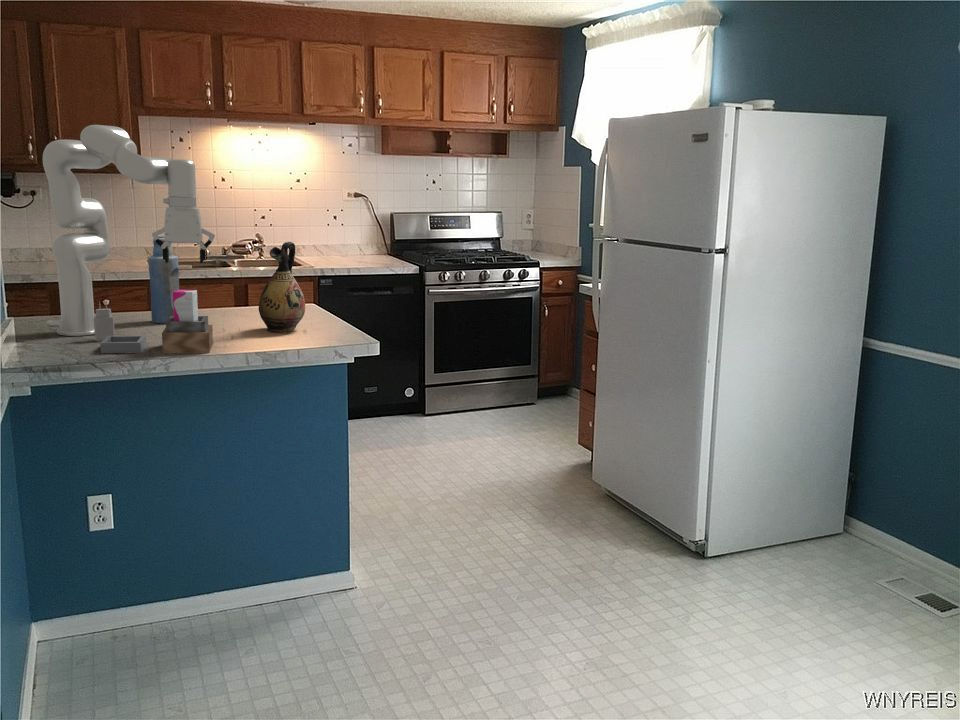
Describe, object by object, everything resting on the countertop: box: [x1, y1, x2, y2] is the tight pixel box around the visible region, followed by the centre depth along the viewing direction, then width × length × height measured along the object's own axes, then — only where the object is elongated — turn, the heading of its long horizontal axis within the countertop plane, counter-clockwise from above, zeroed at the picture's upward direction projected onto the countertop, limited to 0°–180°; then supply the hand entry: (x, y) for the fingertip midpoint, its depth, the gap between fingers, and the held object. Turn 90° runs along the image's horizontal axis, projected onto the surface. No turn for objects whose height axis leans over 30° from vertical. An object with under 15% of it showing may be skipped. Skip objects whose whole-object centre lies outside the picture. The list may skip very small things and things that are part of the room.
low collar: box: [99, 335, 148, 354], centre depth 241 cm, size 11×11×3 cm
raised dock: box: [161, 315, 214, 354], centre depth 245 cm, size 13×13×9 cm
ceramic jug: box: [258, 241, 306, 333], centre depth 277 cm, size 17×15×30 cm
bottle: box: [147, 235, 180, 325], centre depth 284 cm, size 10×10×30 cm
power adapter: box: [94, 301, 116, 342], centre depth 252 cm, size 3×5×12 cm, turn 126°
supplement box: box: [173, 289, 199, 321], centre depth 243 cm, size 6×6×12 cm
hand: (184, 262), depth 240 cm, fingers open, 9 cm apart
